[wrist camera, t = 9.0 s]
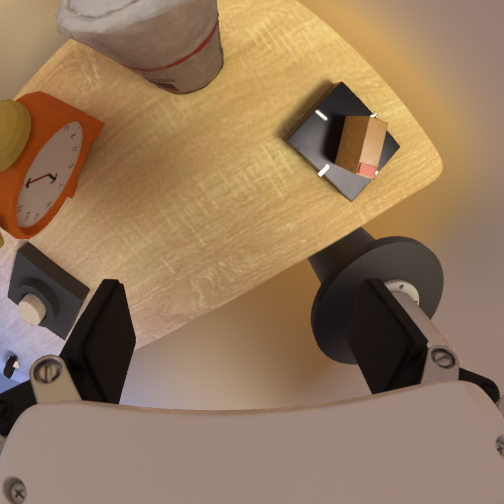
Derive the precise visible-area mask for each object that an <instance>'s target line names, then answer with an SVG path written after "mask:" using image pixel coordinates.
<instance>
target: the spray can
mask: <svg viewBox="0 0 504 504" xmlns="http://www.w3.org/2000/svg"><path fill="white" fill-rule="evenodd" d="M218 16H219V13H218V10H217V0H62V2H61V4H60V6H59V9H58V11H57V13H56V19H57V23H58V26H57V31H58V32H59V33H61V34H62V35H64V36H66V37H69V38H71V39H74V40H76V41H78V42H80V43H83V44H85V45H87V46H89V47H91V48H93V49H95V50H96V51H98V52H100V53H101V54H103V55H105V56H107V57H109V58H112V59H113V60H114V61H116V62H118V63H119V64H121V65H123V66H124V67H126V68H128V69H130V70H132V71H133V72H135V73H136V74H138V75H140V76H142V77H144V78H145V79H147V80H148V81H149V82H152V83H154V84H156V85H157V86H158V87H159V88H162V89H164V90H167V91H169V92H172V93H174V94H188V93H191V92H194V91H197V90H200V89H203V88H204V87H206V86H207V85H208V84H209V83H210V82H211V81H212V80H213V79H214V78H215V77H216V76H217V75H218V74H219V72H220V70H221V69H222V67H223V49H222V46H221V42H220V32H219V20H218Z"/></svg>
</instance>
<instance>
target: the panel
mask: <svg viewBox="0 0 504 504" xmlns="http://www.w3.org/2000/svg"><path fill="white" fill-rule="evenodd" d="M376 115H377V113H376V112H375V111H374V113H373V114H372V112H371V111H370V110H369V109H368V108H367V107H366V106H365V105H364V104H363V103H362V101H361V100H360V99H359V98H358V97H357V96H356V95H355V94H354V93H353V92H352V91H351V90H350V89H349V88H348V87H347V86H346V85H345V84H344V83H343V82H338V83H335V84H333V85H332V86H331V87H330V88H329V89H328V90H327V91H326V92H325V93H324V94H323V95H322V96H321V97H320V99H319V100H318V101H317V102H316V103H315V104H314V105H313V106H312V107H311V108H310V109H309V110H308V111H307V112H306V113H305V115H304V116H303V117H302V118H301V119H300V120H299V121H298V122H297V123H296V124H295V125H294V126H293V128H292V129H291V130H290V131H289V132H288V133H287V134H286V135H285V136H284V138H283V139H282V140H283V141H285V142H286V143H287V144H288V145H289V146H290V147H291V148H293V149H294V150H295V151H296V152H297V153H298V154H299V155H300V156H301V157H303V158H304V159H305V160H306V161H307V162H308V163H309V164H310V165H311V166H312V167H313V168H315V169H316V170H317V171H318V172H319V173H318V174H319V175H320V176H321V175H322V176H323V177H324V178H325V179H326V180H327V181H328V182H329V183H330V184H331V185H332V186H333V187H334V188H335V189H336V190H337V191H338V192H339V193H340V194H342V195H343V196H344V197H345V198H346V199H348V200H349V201H350V202H352V201H353V200H354V199H355V198H356V196H357V195H358V194H359V193H360V192H361V191H362V190H363V189H364V188H365V186H366V185H367V184H368V183H369V182H370V181H371V180H372V179H369V178H366V177H363V176H359V175H356V174H354V173H351V172H349V171H347V170H345V169H343V168H341V167H339V166H337V165H335V161H336V157H337V153H338V149H339V144H340V140H341V136H342V131H343V127H344V122H345V118H346V116H371V117H373V118H376V117H375V116H376ZM376 119H377V118H376ZM399 148H400V146H399V145H398V143H397V142H396V141H395V140H394V138H393V137H392V136H391V135H390V133H389V132H388V131H387V130H386V134H385V139H384V143H383V147H382V151H381V155H380V159H379V163H378V167H377V171H376V174H377V173H378V172H379V171H380V169H381V168H382V167H383V166H384V165H385V164H386V163H387V161H388V160H389V159H390V158H391V157H392V156H393V155H394V153H395V152H396V151H397V150H398V149H399Z"/></svg>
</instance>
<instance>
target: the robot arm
mask: <svg viewBox="0 0 504 504" xmlns="http://www.w3.org/2000/svg"><path fill="white" fill-rule="evenodd" d="M346 339H347V342H348V344H349V346H350V348H351V350H352V352H353V354H354V357H355V359H356V361H357V363H358V365H359V367H360V369H361V371H362V373H363V375H364V378H365V380H366V382H367V384H368V386H369V388H370V391H371V393H372V395H368V396H363V397H358V398H352V399H346V400H341V401H334V402H328V403H320V404H312V405H304V406H294V407H283V408H271V409H254V410H216V411H215V410H179V409H162V408H149V407H137V406H127V405H119V401H120V397H121V393H122V389H123V386H124V382H125V378H126V375H127V371H128V367H129V364H130V361H131V357H132V354H133V351H134V347H135V344H136V336H135V332H134V328H133V324H132V320H131V316H130V312H129V308H128V303H127V299H126V294H125V289H124V285H123V284H122V283H119V281H118V280H117V279H104V280H103V281H102V282H101V284H100V286H99V287H98V289H97V291H96V292H95V294H94V296H93V297H92V299H91V300H90V302H89V304H88V306H87V307H86V309H85V311H84V312H83V313H82V315H81V316H80V318H79V320H78V322H77V323H76V325H75V327H74V329H73V331H72V332H71V334H70V336H69V338H68V340H67V342H66V344H65V345H64V347H63V349H62V351H61V353H60V355H59V356H56V355H46V356H43V357H41V358H39V359H37V360H36V361H35V362H34V363H33V365H32V366H31V368H30V372H29V375H30V380H28V381H26V382H23V383H21V384H19V385H17V386H15V387H13V388H11V389H9V390H7V391H5V392H3V393H1V394H0V504H504V395H502V396H501V397H499V396H500V394H499V390H498V387H497V386H496V384H495V383H494V382H493V381H492V380H490V379H488V378H485V377H483V376H480V375H478V374H475V373H473V372H470V371H469V370H468V368H467V367H466V366H465V364H464V363H463V362H462V361H461V359H460V358H459V357H458V355H457V354H456V352H455V351H454V350H453V349H452V347H451V346H450V345H449V343H448V342H447V341H446V339H445V338H444V337H443V336H442V334H441V333H440V332H439V331H438V329H437V328H436V327H435V326H434V324H433V323H432V322H431V321H430V319H429V318H428V317H427V316H426V315H425V313H424V312H423V311H422V310H421V309H420V307H419V295H418V292H417V290H416V288H415V287H414V286H413V285H412V284H411V283H409V282H408V281H405V280H402V279H394V280H389V281H386V282H382V281H381V280H380V279H378V278H376V279H366V280H365V281H364V282H363V283H361V285H360V288H359V291H358V295H357V299H356V302H355V306H354V309H353V312H352V316H351V319H350V322H349V326H348V329H347V332H346Z"/></svg>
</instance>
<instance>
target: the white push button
mask: <svg viewBox="0 0 504 504" xmlns="http://www.w3.org/2000/svg"><path fill="white" fill-rule="evenodd" d="M18 310H19V313H20V315H21V316H22V318H23V319H24V320H25V321H26V322H27V323H29V324H31V325H34V326H36V325H38V324H39V323H40V322H41V320H42V319H43V317H44V316H45V314H46V308H45V306H44V304H43V303H42V301H41V300H40V299H39V298H38V297H37V296H35V295H34V294H27V295H26V296H25V297H24V298H23V299H22V300H21V302H20V303H19V305H18Z"/></svg>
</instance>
